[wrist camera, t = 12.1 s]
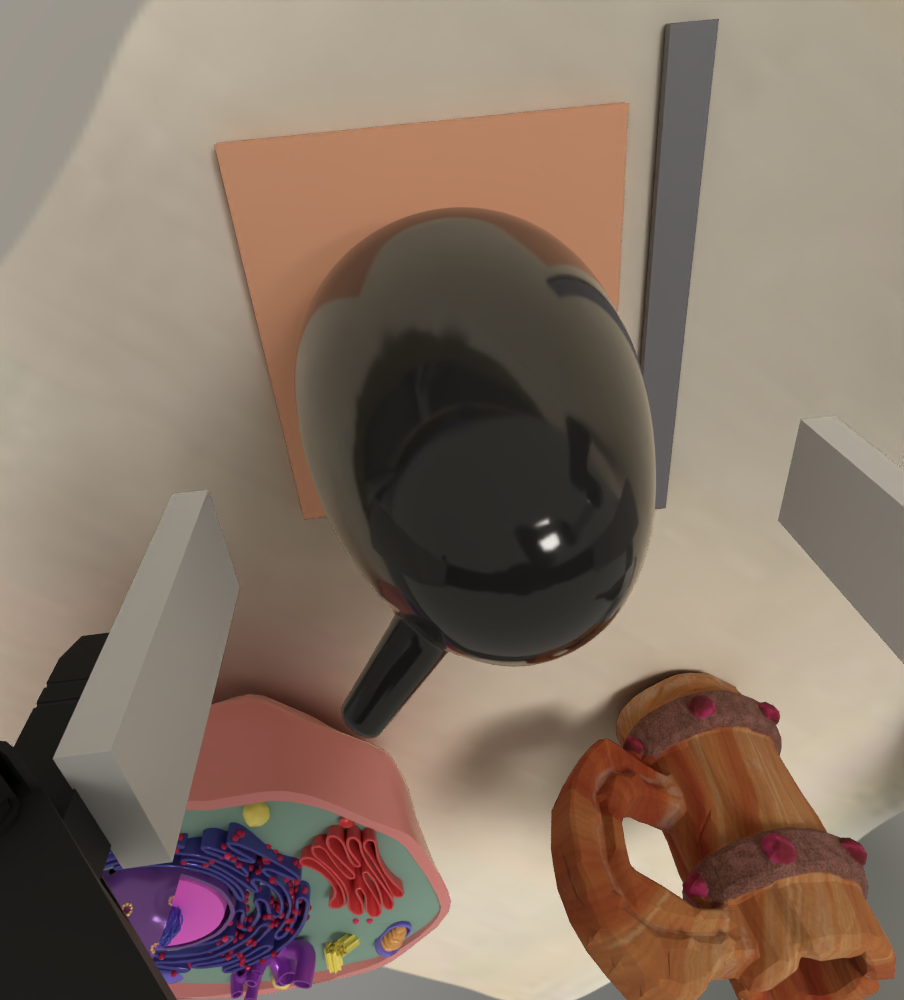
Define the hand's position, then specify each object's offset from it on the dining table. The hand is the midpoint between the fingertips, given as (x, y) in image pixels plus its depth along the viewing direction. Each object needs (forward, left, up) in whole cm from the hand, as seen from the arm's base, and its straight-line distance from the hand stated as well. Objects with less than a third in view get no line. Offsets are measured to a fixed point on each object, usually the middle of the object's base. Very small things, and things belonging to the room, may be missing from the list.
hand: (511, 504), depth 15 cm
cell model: (+12, +22, -12) cm, 28 cm away
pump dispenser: (0, 0, -12) cm, 12 cm away
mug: (-9, +22, -12) cm, 27 cm away
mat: (0, 0, -12) cm, 12 cm away
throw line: (-8, 0, -12) cm, 15 cm away
